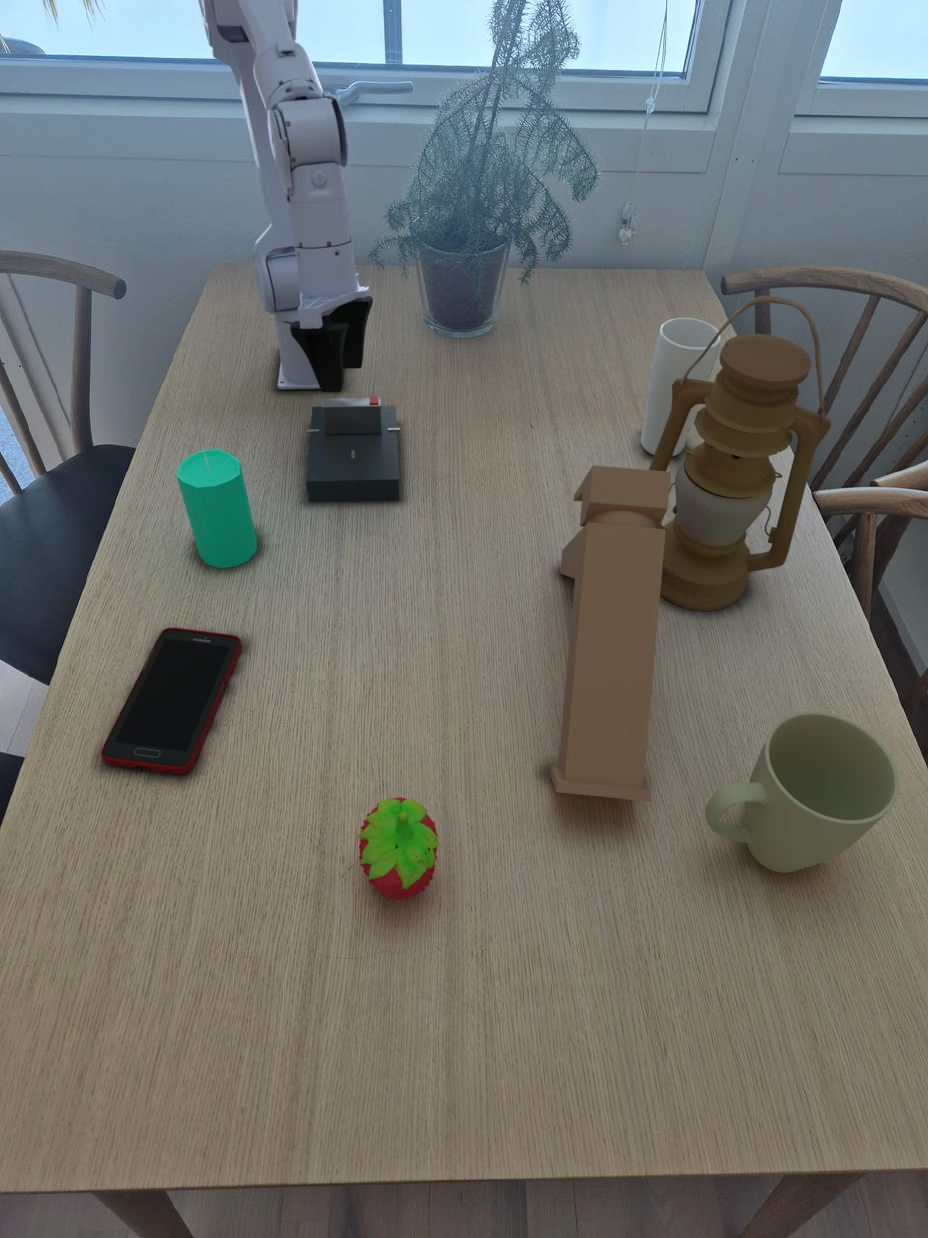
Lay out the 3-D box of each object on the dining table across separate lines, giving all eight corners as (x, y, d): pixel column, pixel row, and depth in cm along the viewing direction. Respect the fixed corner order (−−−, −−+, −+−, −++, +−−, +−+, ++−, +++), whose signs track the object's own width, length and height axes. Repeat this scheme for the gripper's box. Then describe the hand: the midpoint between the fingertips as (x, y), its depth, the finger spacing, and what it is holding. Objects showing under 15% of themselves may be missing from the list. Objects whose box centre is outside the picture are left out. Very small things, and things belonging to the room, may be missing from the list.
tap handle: (325, 434, 95) (321, 404, 92) (325, 426, 96) (322, 396, 93) (381, 433, 95) (380, 403, 92) (381, 425, 96) (380, 395, 93)
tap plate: (311, 425, 101) (309, 403, 98) (399, 424, 102) (398, 402, 99) (305, 502, 91) (302, 479, 89) (402, 500, 92) (401, 477, 90)
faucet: (607, 754, 85) (629, 512, 85) (650, 801, 62) (680, 470, 62) (538, 747, 85) (560, 506, 85) (556, 792, 62) (586, 462, 62)
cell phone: (99, 764, 68) (96, 758, 68) (165, 632, 78) (163, 625, 77) (190, 777, 68) (187, 771, 67) (245, 642, 78) (243, 635, 77)
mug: (740, 768, 70) (786, 683, 61) (852, 838, 66) (918, 758, 57) (676, 861, 65) (716, 782, 56) (795, 943, 61) (858, 872, 52)
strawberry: (437, 831, 66) (439, 764, 58) (438, 923, 61) (439, 863, 53) (364, 831, 65) (356, 764, 58) (359, 924, 60) (349, 864, 53)
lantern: (764, 549, 89) (878, 278, 66) (773, 621, 82) (904, 345, 59) (623, 531, 90) (689, 259, 67) (621, 600, 83) (693, 322, 61)
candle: (226, 576, 83) (201, 483, 74) (186, 550, 86) (158, 457, 77) (269, 545, 87) (251, 451, 78) (230, 520, 89) (208, 427, 80)
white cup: (693, 464, 98) (728, 350, 87) (636, 462, 98) (664, 347, 87) (684, 430, 103) (716, 317, 91) (630, 428, 103) (655, 315, 91)
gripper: (340, 256, 75) (360, 402, 82) (380, 227, 86) (394, 357, 94) (267, 259, 76) (293, 402, 84) (316, 230, 88) (335, 358, 95)
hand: (342, 379), depth 89 cm, fingers open, 7 cm apart
